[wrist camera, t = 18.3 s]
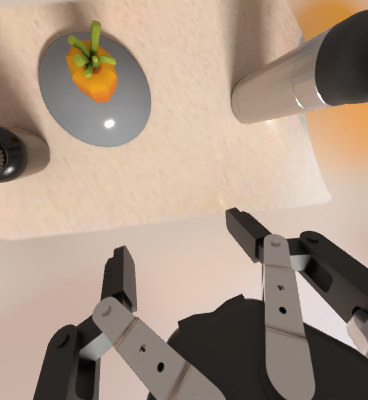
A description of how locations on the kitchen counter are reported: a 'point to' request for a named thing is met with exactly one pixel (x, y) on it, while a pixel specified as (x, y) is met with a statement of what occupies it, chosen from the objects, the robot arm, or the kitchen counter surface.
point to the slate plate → (88, 108)
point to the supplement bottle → (21, 153)
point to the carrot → (92, 66)
